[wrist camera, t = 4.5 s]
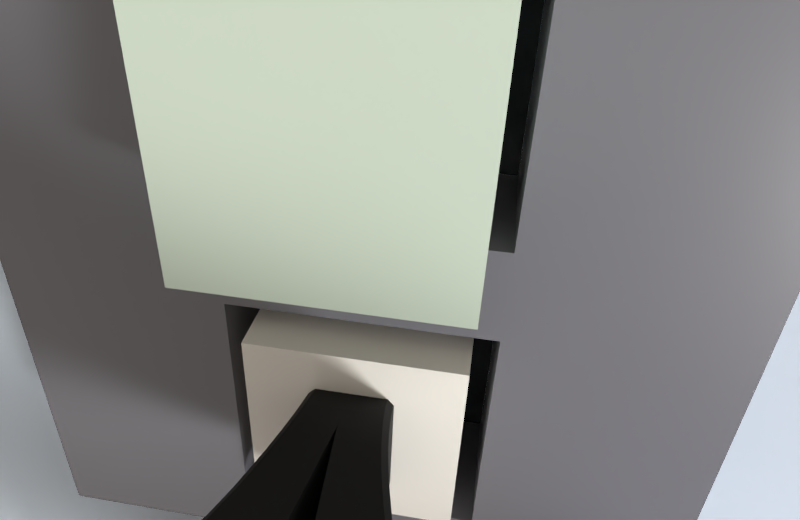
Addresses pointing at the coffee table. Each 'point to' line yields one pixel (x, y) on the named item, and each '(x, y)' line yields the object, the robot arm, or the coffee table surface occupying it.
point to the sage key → (323, 147)
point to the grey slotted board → (504, 277)
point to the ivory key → (367, 392)
